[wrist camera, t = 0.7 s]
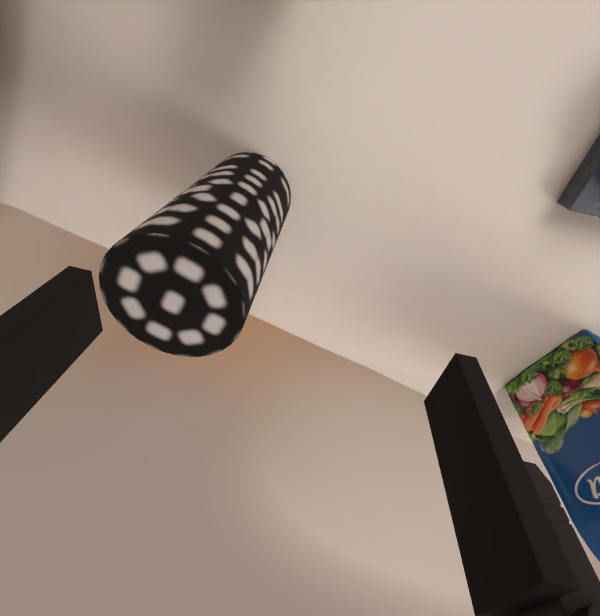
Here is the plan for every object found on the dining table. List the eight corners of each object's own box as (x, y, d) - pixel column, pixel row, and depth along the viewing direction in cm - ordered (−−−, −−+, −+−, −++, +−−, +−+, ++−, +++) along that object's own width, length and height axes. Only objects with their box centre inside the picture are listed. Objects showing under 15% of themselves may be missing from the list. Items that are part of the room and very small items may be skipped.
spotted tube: (232, 133, 32) (119, 200, 16) (306, 183, 34) (271, 288, 18) (200, 205, 37) (85, 314, 20) (266, 246, 39) (210, 375, 22)
